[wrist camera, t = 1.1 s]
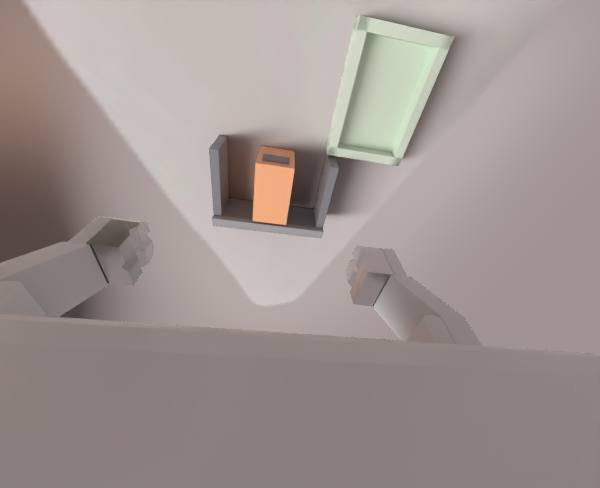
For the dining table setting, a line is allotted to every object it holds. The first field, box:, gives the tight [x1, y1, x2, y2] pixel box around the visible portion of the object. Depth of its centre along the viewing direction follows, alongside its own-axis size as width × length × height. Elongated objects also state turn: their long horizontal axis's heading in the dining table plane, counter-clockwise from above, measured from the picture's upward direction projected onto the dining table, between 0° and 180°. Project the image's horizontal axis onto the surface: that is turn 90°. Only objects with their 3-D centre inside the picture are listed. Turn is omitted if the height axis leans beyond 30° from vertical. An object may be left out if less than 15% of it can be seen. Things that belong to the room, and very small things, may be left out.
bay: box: [209, 135, 339, 238], centre depth 33 cm, size 10×15×6 cm
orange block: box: [253, 146, 295, 225], centre depth 33 cm, size 8×4×6 cm, turn 171°
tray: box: [326, 15, 454, 166], centre depth 28 cm, size 13×10×2 cm
